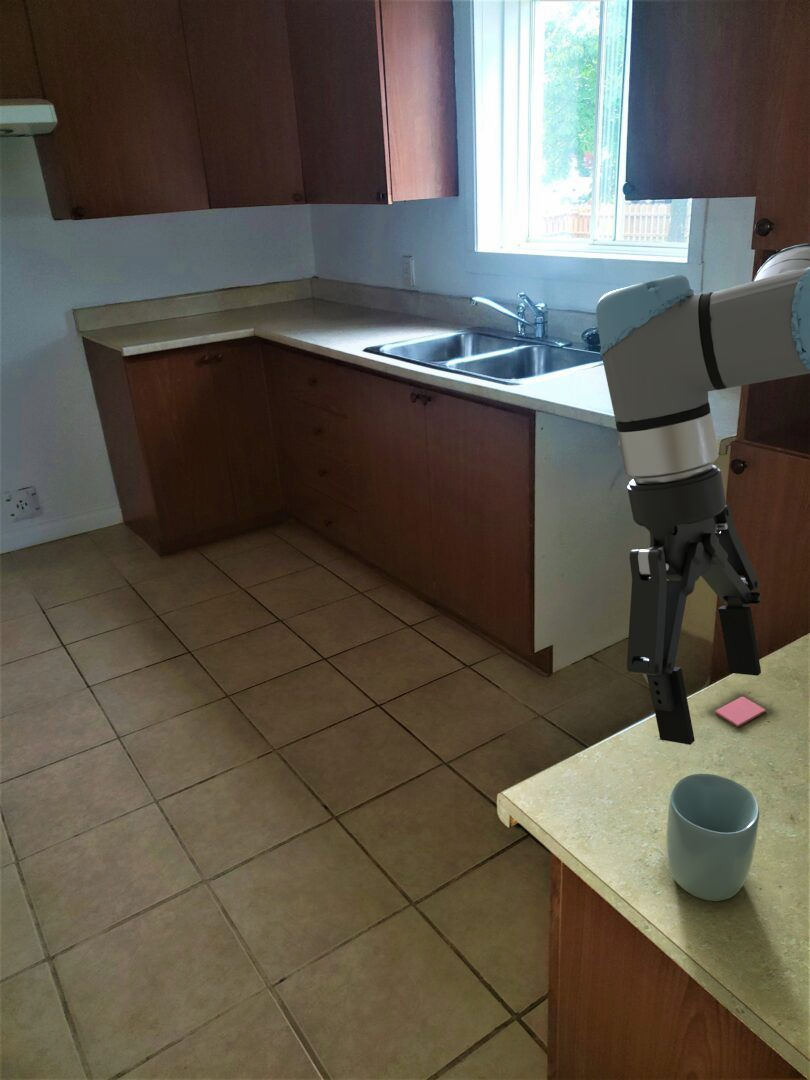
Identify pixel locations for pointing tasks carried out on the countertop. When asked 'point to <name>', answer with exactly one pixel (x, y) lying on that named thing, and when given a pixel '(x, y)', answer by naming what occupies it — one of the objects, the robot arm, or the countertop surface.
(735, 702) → the eraser
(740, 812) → the cup
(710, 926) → the countertop surface
